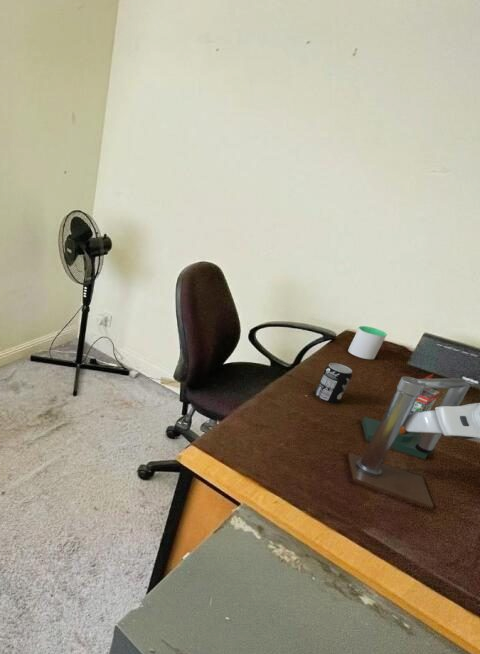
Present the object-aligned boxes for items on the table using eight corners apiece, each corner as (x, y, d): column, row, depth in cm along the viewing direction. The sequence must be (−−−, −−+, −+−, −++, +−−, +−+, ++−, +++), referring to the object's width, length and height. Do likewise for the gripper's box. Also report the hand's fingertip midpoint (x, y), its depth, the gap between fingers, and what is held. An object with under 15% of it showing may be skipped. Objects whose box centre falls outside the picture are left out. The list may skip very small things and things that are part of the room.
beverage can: (336, 396, 136) (351, 366, 131) (340, 407, 131) (356, 375, 126) (312, 390, 139) (325, 360, 134) (315, 400, 134) (329, 369, 129)
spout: (420, 444, 104) (460, 374, 96) (437, 455, 100) (480, 384, 92) (362, 445, 104) (397, 375, 95) (377, 456, 100) (415, 385, 92)
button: (404, 428, 116) (406, 424, 115) (406, 435, 113) (409, 430, 113) (386, 423, 118) (389, 419, 117) (389, 430, 115) (391, 425, 115)
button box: (416, 438, 118) (422, 427, 116) (425, 459, 110) (431, 447, 109) (361, 422, 124) (366, 411, 123) (366, 440, 117) (371, 429, 115)
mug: (354, 344, 169) (365, 322, 165) (380, 352, 163) (391, 330, 159) (345, 352, 163) (356, 329, 159) (371, 361, 157) (383, 337, 153)
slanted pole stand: (419, 481, 103) (469, 397, 93) (430, 511, 95) (487, 422, 85) (347, 457, 111) (386, 377, 101) (352, 482, 103) (395, 398, 92)
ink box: (425, 418, 126) (450, 379, 120) (414, 425, 123) (438, 385, 117) (410, 411, 129) (432, 372, 123) (398, 418, 126) (421, 378, 120)
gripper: (536, 412, 89) (468, 419, 102) (432, 405, 91) (379, 413, 104) (549, 442, 87) (478, 445, 99) (442, 435, 89) (386, 439, 101)
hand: (427, 429), depth 102 cm, fingers closed on spout, 2 cm apart
